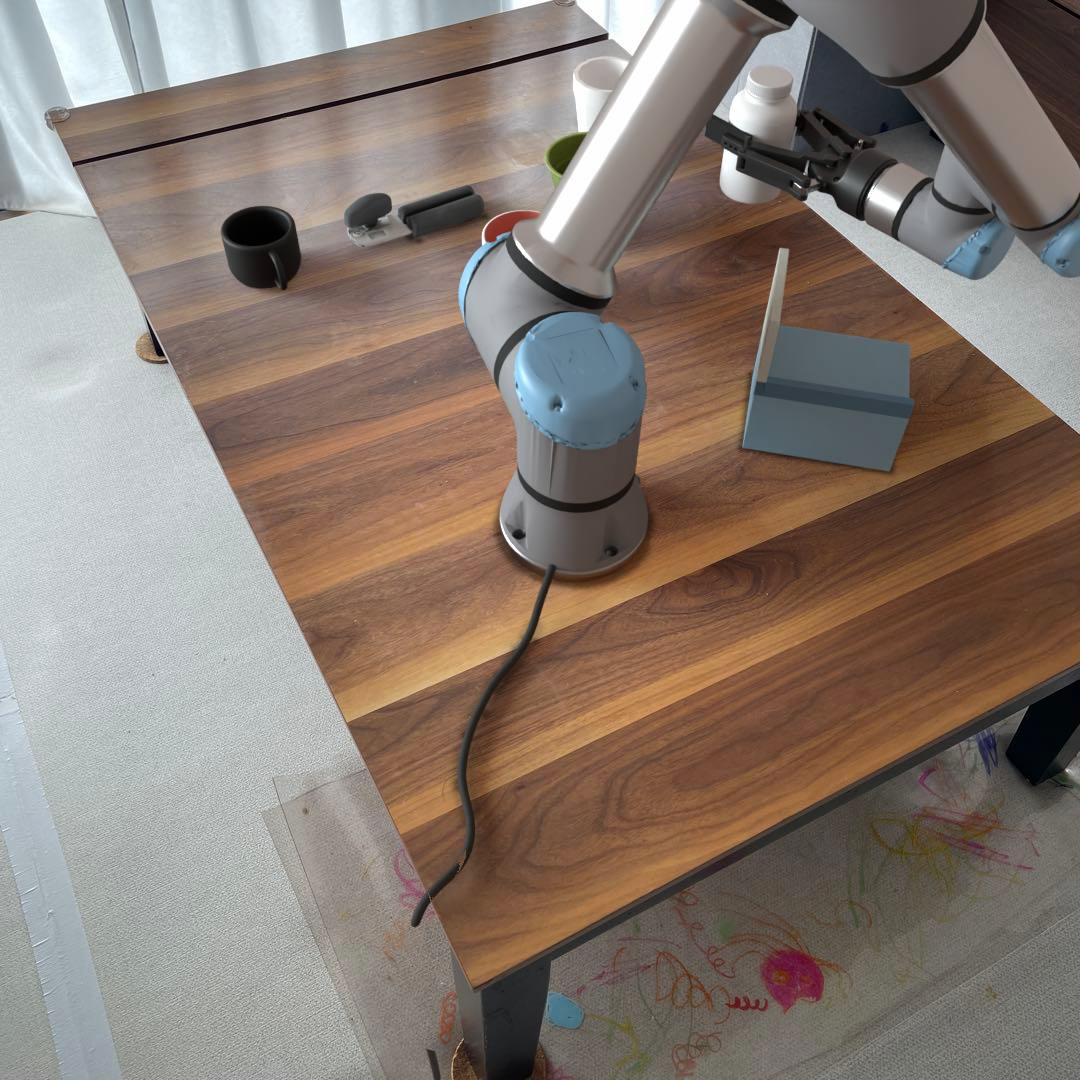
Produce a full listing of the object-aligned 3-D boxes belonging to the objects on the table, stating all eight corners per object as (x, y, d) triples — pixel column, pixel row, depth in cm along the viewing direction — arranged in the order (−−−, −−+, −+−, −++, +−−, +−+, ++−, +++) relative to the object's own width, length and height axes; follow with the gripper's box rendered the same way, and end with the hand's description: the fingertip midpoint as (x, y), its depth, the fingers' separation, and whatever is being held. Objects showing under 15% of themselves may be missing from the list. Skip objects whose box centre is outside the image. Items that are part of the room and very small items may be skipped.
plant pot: (587, 195, 153) (590, 120, 144) (651, 233, 148) (659, 157, 139) (525, 231, 148) (524, 155, 139) (589, 271, 142) (593, 195, 134)
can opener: (359, 262, 143) (353, 220, 138) (342, 242, 146) (336, 200, 141) (488, 218, 149) (486, 176, 145) (469, 199, 152) (467, 157, 147)
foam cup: (648, 156, 159) (657, 69, 149) (616, 187, 154) (622, 99, 144) (591, 136, 162) (596, 49, 152) (558, 166, 157) (560, 78, 147)
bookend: (889, 472, 121) (937, 344, 107) (742, 448, 123) (769, 320, 109) (891, 397, 128) (936, 269, 114) (752, 375, 130) (779, 247, 116)
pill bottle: (793, 187, 142) (817, 75, 130) (756, 214, 138) (777, 101, 127) (743, 163, 146) (762, 51, 134) (705, 188, 142) (721, 76, 130)
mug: (222, 264, 143) (210, 217, 137) (288, 244, 145) (279, 197, 140) (254, 318, 136) (242, 270, 130) (323, 296, 139) (315, 248, 133)
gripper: (818, 256, 126) (670, 170, 136) (925, 187, 135) (779, 111, 145) (832, 198, 120) (677, 113, 130) (943, 130, 129) (790, 55, 139)
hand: (731, 112), depth 138 cm, fingers closed on pill bottle, 8 cm apart
